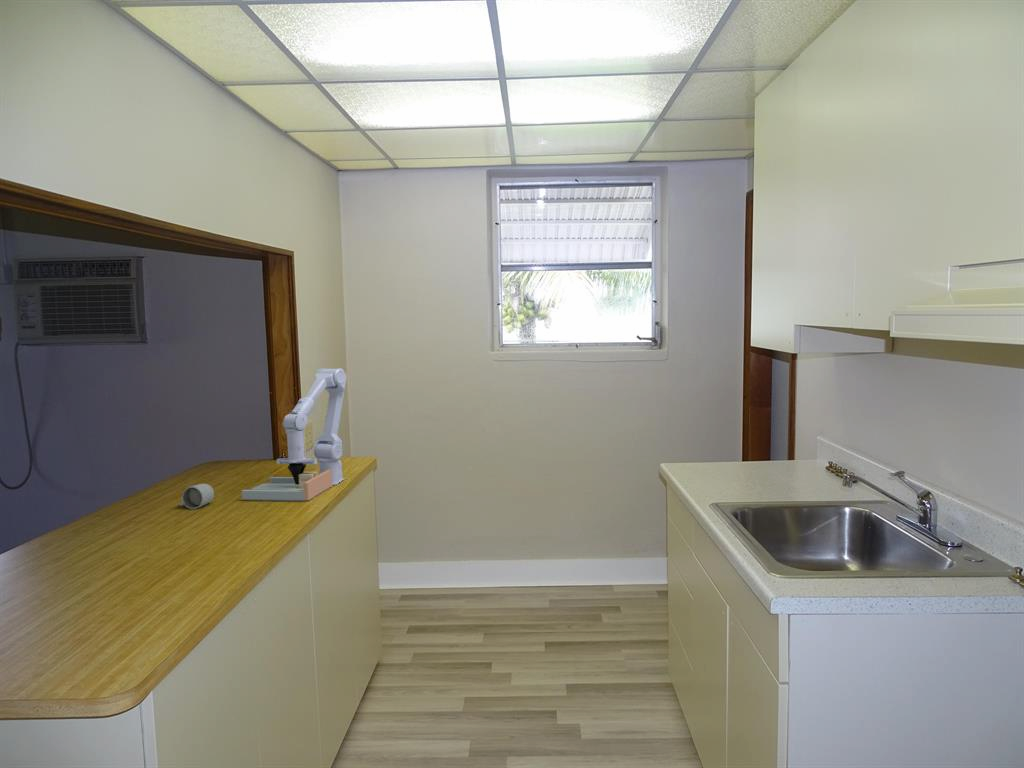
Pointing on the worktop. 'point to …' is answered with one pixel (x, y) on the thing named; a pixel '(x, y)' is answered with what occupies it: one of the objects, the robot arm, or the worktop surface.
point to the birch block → (306, 477)
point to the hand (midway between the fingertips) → (298, 483)
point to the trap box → (289, 489)
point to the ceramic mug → (197, 496)
